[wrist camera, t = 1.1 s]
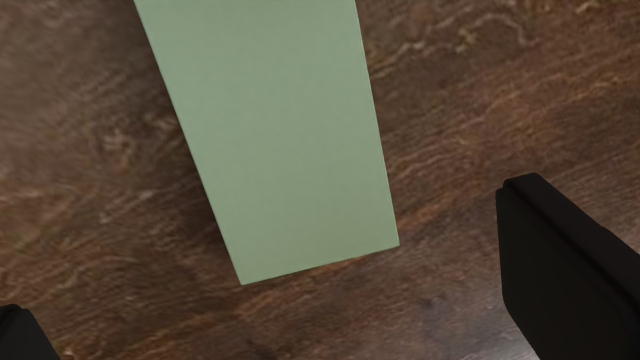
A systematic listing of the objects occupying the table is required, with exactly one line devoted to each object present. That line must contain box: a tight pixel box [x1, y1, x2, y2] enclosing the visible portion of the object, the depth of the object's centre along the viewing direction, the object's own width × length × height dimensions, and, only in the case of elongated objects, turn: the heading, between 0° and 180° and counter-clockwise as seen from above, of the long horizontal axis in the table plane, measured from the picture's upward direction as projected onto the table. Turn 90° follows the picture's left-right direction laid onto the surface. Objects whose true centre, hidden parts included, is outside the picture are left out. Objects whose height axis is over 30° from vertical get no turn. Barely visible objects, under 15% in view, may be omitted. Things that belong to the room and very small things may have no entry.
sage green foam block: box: [133, 0, 400, 285], centre depth 21 cm, size 13×7×2 cm, turn 13°
